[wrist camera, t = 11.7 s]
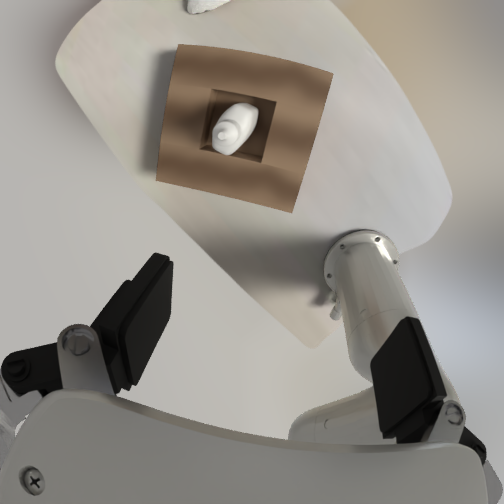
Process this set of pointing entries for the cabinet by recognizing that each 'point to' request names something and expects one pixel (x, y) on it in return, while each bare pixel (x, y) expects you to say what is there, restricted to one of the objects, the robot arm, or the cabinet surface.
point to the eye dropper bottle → (234, 127)
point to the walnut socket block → (262, 138)
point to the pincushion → (203, 5)
